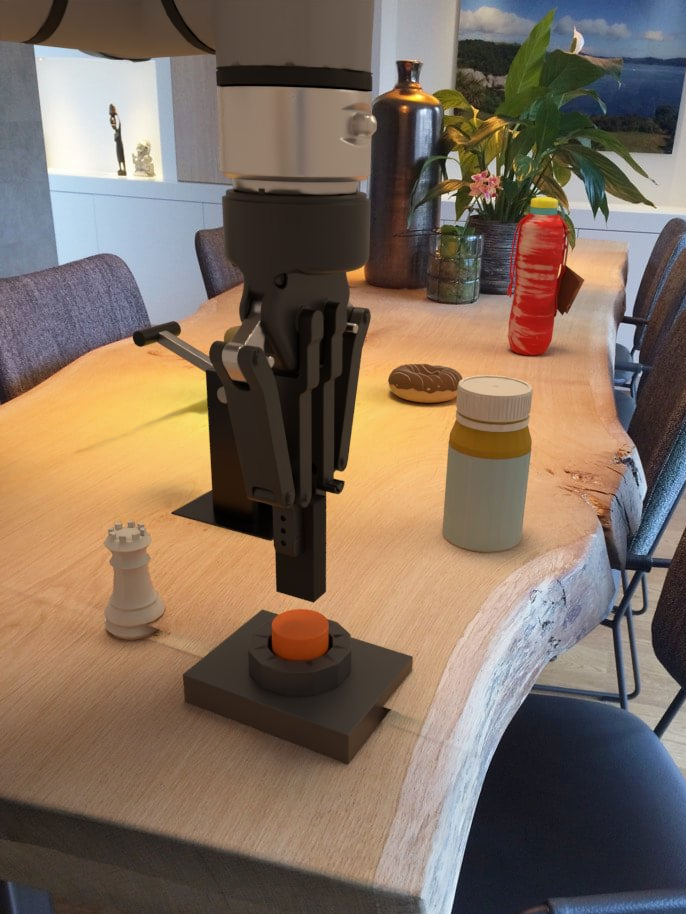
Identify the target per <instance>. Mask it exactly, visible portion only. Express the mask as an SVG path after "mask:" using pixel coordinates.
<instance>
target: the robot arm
mask: <svg viewBox="0 0 686 914" xmlns="http://www.w3.org/2000/svg"><path fill="white" fill-rule="evenodd" d="M375 2H376V1H375V0H0V42H10V43H11V42H12V43H20V44H25V45H30V46H31V45H32V46H40V47H49V48H60V49H68V50H75V51H79V52H81V53H83V54H85V55H87V56H90V57H95V58H100V59H106V60H111V61H128V62H132V63H144V62H150V61H151V60H152V59H160V58H162V59H163V58H176V57H191V56H205V55H206V56H207V55H212V56H213V55H214V56H215V63H216V67H215V79H216V86H217V87H216V108H217V110H216V111H217V112H216V113H217V138H218V141H217V143H218V166H219V167H218V169H219V173H221V174H222V175H223V176H224V177H225V178H229V179H231V181H232V188H228V189H226V190H225V195H222V196H221V205H222V206H221V207H222V208H221V209H222V210H221V211H222V228H223V229H222V231H223V252H224V257H225V260H226V261H227V263H228V264H230V265H231V266H232V267H234V268H237V269H238V270H239V272H241V274H242V276H243V287H242V293H241V297H240V300H239V301H240V302H239V305H238V315H239V320H240V322H241V324H240V325H239V326H240V327H239V329H238V330H237V332H236V333H235V335H234V337H233V338H232V340H231V341H230V342H224V340H223V341H222V340H214V341H213V342H212V343H211V345H210V347H209V350H208V356H209V358H210V361H211V363H212V365H213V367H214V369H215V371H216V372H217V374H218V376H219V378H220V380H221V381H222V383H223V385H224V390H225V395H226V400H227V404H228V409H229V414H230V419H231V423H232V428H233V433H234V437H235V442H236V447H237V452H238V456H239V461H240V466H241V471H242V475H243V480H244V485H245V489H246V494H247V497H248V498H249V499H250V500H254V501H258V502H262V503H266V504H270V505H272V508H273V530H274V531H273V536H274V538H273V540H272V542H273V548H274V554H275V555H274V556H275V557H274V559H275V587H276V588H275V591H276V592H277V593H279V594H283V595H286V596H289V597H294V598H296V599H299V600H303V601H306V602H310V603H315V602H317V601H318V600H319V599H320V598H321V597H322V596H323V595H325V593H327V493H330V494H334V495H340V494H341V493H342V492H343V490H344V488H345V483H346V481H345V480H342V479H337V478H335V473H336V472H341V473H343V472H345V470H346V468H347V467H348V462H349V456H350V447H351V439H352V433H353V424H354V416H355V409H356V400H357V394H358V393H357V392H358V385H359V376H360V369H361V362H362V354H363V347H364V344H365V341H366V338H367V335H368V334H367V333H368V331H369V328H370V323H371V319H372V314H371V310H370V309H369V308H368V307H360V306H354V305H353V304H352V303H351V302H350V297H351V290H350V289H351V287H350V284H349V279H348V276H347V273H350V272H354V271H357V270H360V269H361V268H363V267H364V266H366V264H367V263H368V262H369V259H370V249H371V248H370V247H371V246H370V245H371V208H372V207H371V203H372V201H371V199H370V198H368V194H367V193H366V192H364V191H360V190H359V182H362V181H366V180H367V179H368V178H369V177H370V176H371V161H372V160H371V159H372V157H371V155H372V136H373V135H374V134H375V133H376V132H377V130H378V128H377V127H378V121H377V118H376V116H375V115H373V113H372V112H373V111H372V110H373V93H372V92H373V76H372V75H374V73H373V72H372V53H373V34H374V16H375Z"/></svg>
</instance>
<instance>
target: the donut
mask: <svg viewBox="0 0 686 914" xmlns="http://www.w3.org/2000/svg"><path fill="white" fill-rule="evenodd" d="M462 379H463V376H462V374H461V373H460V372H459V371H458V370H457V369H455V368H452V367H450V366H443V365H438V364H437V365H434V364H433V365H432V364H429V363H409V364H402V365H400V366H397V367H395V368H394V369H392V371H391V372H390V374H389V375H388V379H387V383H388V387H389V389H390V391H391V392H392V393H393V394H394V395H395V396H397V397H398V398H401V399H403V400H406V401H410V402H415V403H423V404H424V403H427V404H428V403H429V404H430V403H431V404H434V403H444V402H448V401H451V400H454V399H455V398H457V389H458V384H459V381H460V380H462Z"/></svg>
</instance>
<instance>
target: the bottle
mask: <svg viewBox="0 0 686 914" xmlns="http://www.w3.org/2000/svg"><path fill="white" fill-rule="evenodd" d="M533 392H534V391H533V386H532V385H531V384H530V382H528V381H525V380H523V379H519V378H516V377H511V376H504V375H496V374H495V375H494V374H481V375H472V376H466V377H463V378H462V380H460V381H459V384H458V389H457V396H456V405H455V406H456V410H455V421H454V423H453V426H452V428H451V430H450V433H449V435H448V436H449V437H448V447H447V460H446V463H447V464H446V474H445V490H444V500H443V501H444V503H443V515H442V516H443V517H442V529H441V531H442V536H443V538H444V539H445V540H446V542H448V543H450V544H451V545H453V546H455V547H457V548H459V549H461V550H465V551H468V552H472V553H473V552H474V553H480V554H481V553H482V554H493V553H496V554H497V553H502V552H503V553H504V552H506V551H510V550H512V549H514V548H516V547H517V546H518V545H519V544H520V543H521V541H522V536H523V526H524V516H525V509H526V500H527V493H528V492H527V491H528V483H529V482H528V481H529V473H530V466H531V458H532V457H531V455H532V446H533V445H532V444H533V442H532V440H533V439H532V436H531V432H530V428H529V423H530V414H531V411H532V410H531V409H532V401H533Z"/></svg>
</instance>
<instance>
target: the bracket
mask: <svg viewBox="0 0 686 914" xmlns="http://www.w3.org/2000/svg"><path fill="white" fill-rule="evenodd" d="M205 385H206V387H205V388H206V405H207V420H208V421H207V422H208V440H209V441H208V442H209V443H208V444H209V456H210V457H209V458H210V459H209V460H210V478H211V489H210V490H209V491H207V492H205V493H204V494H201V495H200V496H198V497H196V498H194V499H193V500H191V501H189V502H187V503H185V504H184V505H182V506H180V507H178V508H177V509H174V510H173V511H171V512H170V515H174V516H177V517H181V518H185V519H189V520H191V521H196V522H199V523H203V524H207V525H210V526H214V527H217V528H221V529H225V530H228V531H233V532H236V533H240V534H243V535H247V536H251V537H255V538H257V539H261V540H266V541H269V542H273V538H274V536H273V531H274V530H273V508H272V505H270V504H266V503H262V502H258V501H254V500H250V499H249V498H248V497H247V494H246V489H245V485H244V480H243V475H242V471H241V466H240V461H239V456H238V452H237V447H236V442H235V437H234V433H233V428H232V423H231V419H230V414H229V409H228V404H227V400H226V395H225V390H224V385H223V383H222V381H221V380H220V378H219V376H218V374H217V372H216V371H215V369H214V367H212V368H209V369H206V372H205Z"/></svg>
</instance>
